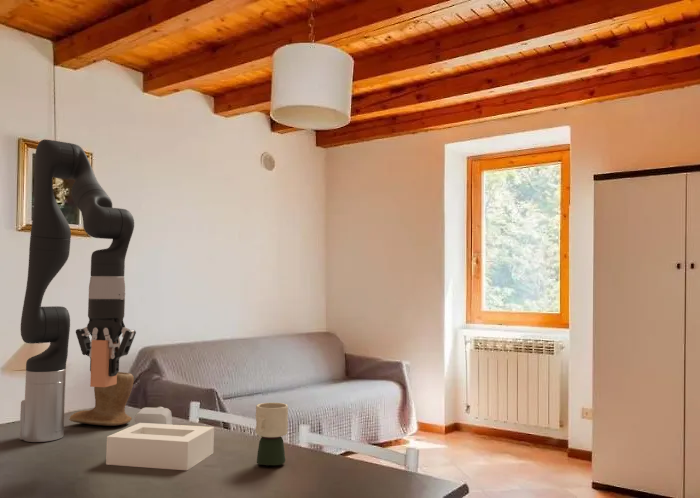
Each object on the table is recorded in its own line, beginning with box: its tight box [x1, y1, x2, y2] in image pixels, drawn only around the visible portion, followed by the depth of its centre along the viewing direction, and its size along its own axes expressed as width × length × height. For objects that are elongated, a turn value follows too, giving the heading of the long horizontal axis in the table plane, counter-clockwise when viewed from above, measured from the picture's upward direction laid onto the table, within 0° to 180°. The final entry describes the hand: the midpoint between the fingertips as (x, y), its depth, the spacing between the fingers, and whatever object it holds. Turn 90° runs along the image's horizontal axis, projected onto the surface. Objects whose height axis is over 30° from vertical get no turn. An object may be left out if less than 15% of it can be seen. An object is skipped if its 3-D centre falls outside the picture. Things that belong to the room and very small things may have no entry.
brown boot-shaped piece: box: [68, 371, 135, 427], centre depth 175 cm, size 15×12×15 cm
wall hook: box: [134, 406, 173, 425], centre depth 158 cm, size 8×10×10 cm
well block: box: [105, 423, 215, 471], centre depth 142 cm, size 19×14×6 cm
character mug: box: [255, 402, 289, 468], centre depth 138 cm, size 11×7×13 cm, turn 154°
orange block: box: [89, 340, 117, 388], centre depth 137 cm, size 4×4×10 cm
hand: (104, 375), depth 137 cm, fingers closed on orange block, 3 cm apart
